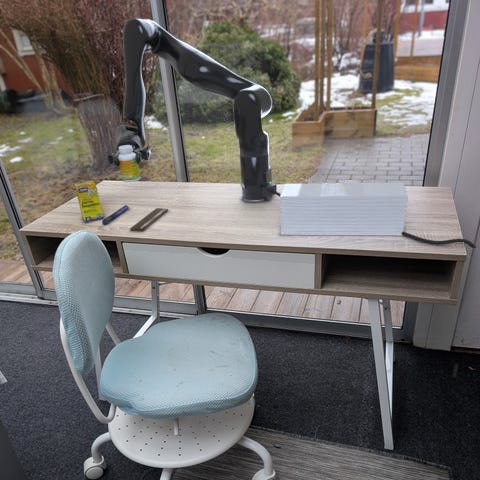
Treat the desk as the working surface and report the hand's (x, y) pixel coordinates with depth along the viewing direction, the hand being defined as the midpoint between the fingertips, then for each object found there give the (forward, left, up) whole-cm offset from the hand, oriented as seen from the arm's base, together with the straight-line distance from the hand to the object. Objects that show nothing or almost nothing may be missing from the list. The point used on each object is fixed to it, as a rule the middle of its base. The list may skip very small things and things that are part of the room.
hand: (127, 161), depth 138 cm
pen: (+8, -1, -18) cm, 20 cm away
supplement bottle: (+1, -2, -6) cm, 7 cm away
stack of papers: (-62, -3, -18) cm, 64 cm away
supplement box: (+16, +1, -18) cm, 24 cm away
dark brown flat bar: (-4, 0, -18) cm, 18 cm away
